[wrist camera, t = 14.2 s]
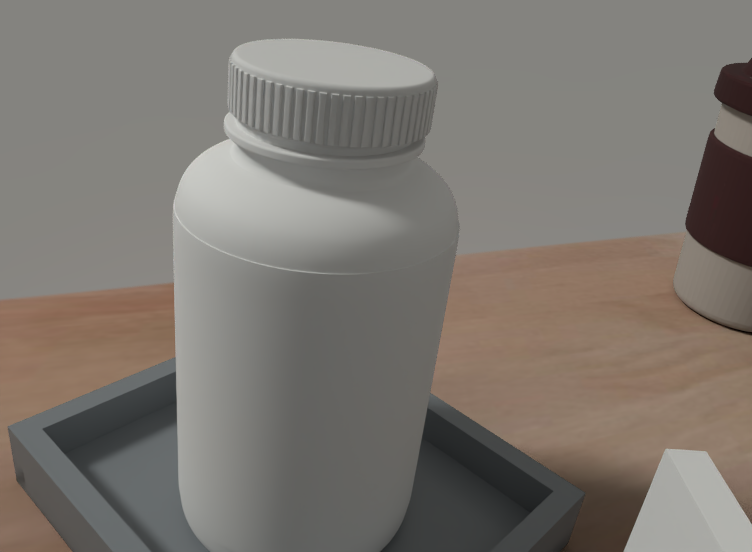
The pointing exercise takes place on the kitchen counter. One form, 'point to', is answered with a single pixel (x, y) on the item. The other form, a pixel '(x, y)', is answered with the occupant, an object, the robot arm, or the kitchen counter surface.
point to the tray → (163, 501)
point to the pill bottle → (309, 300)
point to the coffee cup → (722, 212)
